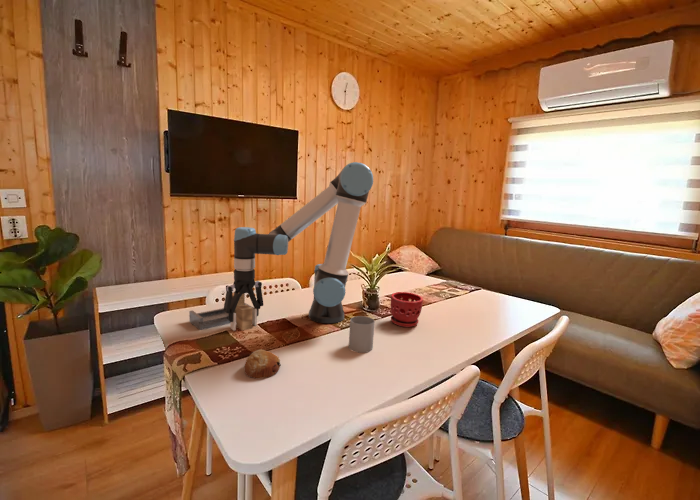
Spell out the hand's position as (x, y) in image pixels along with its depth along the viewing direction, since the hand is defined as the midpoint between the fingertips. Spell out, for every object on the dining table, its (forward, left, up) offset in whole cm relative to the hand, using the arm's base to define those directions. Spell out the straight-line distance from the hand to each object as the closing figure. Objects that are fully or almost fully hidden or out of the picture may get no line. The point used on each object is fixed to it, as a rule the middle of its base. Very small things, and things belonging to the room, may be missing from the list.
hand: (243, 326), depth 139 cm
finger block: (0, 0, 0) cm, 0 cm away
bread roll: (-33, +12, -1) cm, 35 cm away
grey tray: (+12, +3, 0) cm, 12 cm away
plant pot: (-35, -55, 0) cm, 65 cm away
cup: (-40, -23, 0) cm, 46 cm away
